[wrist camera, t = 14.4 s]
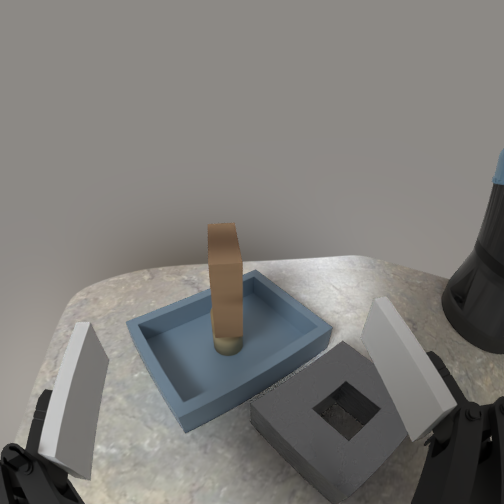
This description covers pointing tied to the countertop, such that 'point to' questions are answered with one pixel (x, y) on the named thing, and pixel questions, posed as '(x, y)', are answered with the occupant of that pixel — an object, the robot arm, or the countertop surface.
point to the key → (225, 288)
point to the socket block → (323, 434)
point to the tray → (216, 365)
